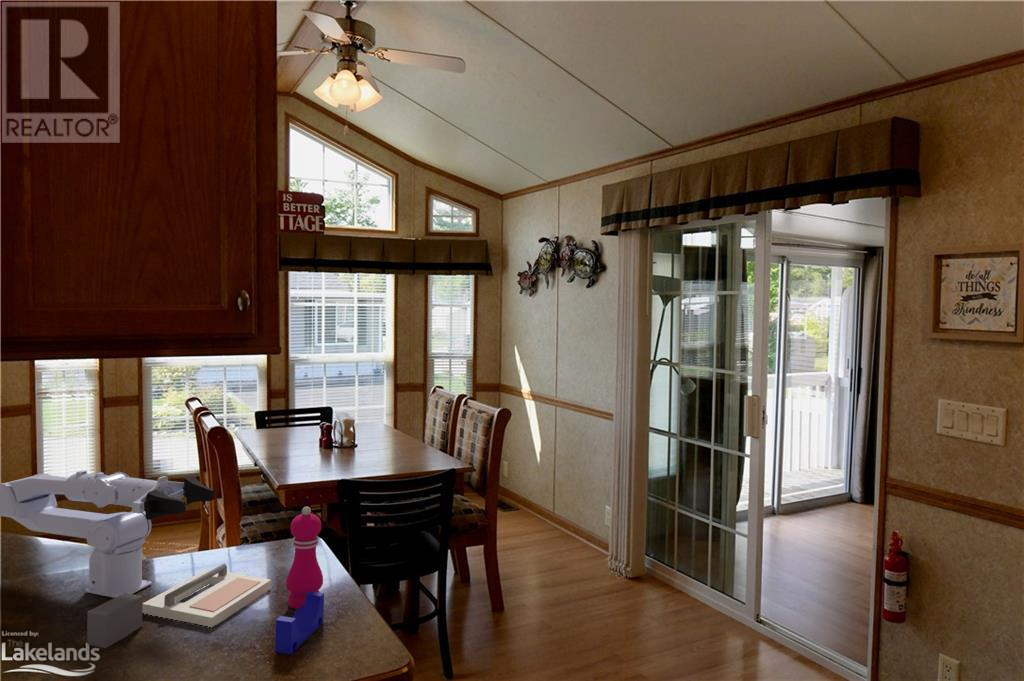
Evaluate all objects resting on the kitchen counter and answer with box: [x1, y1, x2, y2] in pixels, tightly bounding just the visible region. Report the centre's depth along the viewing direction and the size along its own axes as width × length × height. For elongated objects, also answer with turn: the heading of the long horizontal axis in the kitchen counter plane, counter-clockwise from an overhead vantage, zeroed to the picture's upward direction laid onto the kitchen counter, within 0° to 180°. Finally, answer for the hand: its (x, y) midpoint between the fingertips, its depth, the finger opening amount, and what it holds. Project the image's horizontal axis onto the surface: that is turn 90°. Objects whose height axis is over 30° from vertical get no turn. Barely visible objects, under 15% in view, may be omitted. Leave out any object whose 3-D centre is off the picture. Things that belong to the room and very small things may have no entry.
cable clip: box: [274, 591, 325, 655], centre depth 124 cm, size 12×4×6 cm, turn 168°
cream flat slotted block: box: [142, 563, 272, 629], centre depth 136 cm, size 16×18×4 cm
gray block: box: [86, 593, 144, 649], centre depth 121 cm, size 4×8×6 cm, turn 164°
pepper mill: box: [285, 506, 324, 610], centre depth 136 cm, size 7×7×20 cm
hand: (199, 501), depth 132 cm, fingers open, 7 cm apart
